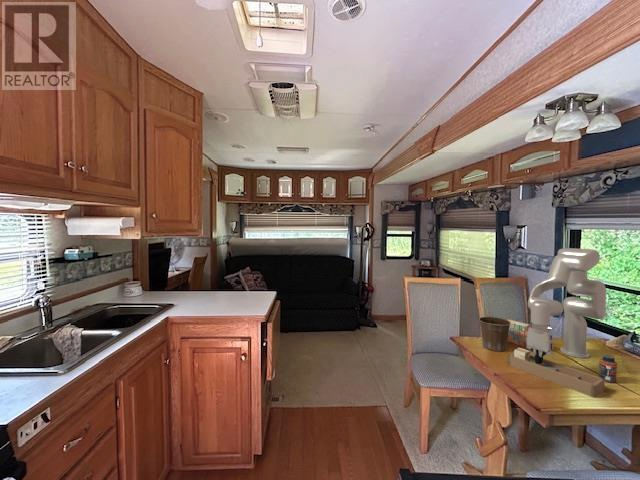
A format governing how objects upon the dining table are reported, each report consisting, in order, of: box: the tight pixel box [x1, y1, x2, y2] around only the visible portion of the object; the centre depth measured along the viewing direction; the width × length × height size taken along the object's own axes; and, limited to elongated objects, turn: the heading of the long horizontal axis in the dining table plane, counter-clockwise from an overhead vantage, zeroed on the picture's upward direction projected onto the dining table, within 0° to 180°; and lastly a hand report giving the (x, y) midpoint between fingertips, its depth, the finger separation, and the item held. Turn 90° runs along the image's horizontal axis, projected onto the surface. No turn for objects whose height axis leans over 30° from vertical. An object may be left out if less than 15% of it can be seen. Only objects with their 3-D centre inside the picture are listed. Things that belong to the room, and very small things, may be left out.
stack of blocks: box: [507, 319, 540, 352], centre depth 180 cm, size 21×6×12 cm, turn 29°
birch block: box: [513, 347, 531, 361], centre depth 154 cm, size 5×5×5 cm
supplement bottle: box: [598, 354, 618, 384], centre depth 139 cm, size 6×6×11 cm
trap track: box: [507, 352, 606, 398], centre depth 143 cm, size 11×34×5 cm, turn 31°
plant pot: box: [478, 316, 511, 352], centre depth 176 cm, size 16×16×16 cm
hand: (538, 363), depth 148 cm, fingers closed
